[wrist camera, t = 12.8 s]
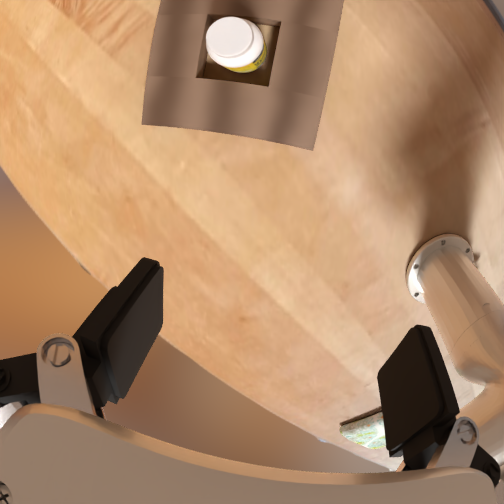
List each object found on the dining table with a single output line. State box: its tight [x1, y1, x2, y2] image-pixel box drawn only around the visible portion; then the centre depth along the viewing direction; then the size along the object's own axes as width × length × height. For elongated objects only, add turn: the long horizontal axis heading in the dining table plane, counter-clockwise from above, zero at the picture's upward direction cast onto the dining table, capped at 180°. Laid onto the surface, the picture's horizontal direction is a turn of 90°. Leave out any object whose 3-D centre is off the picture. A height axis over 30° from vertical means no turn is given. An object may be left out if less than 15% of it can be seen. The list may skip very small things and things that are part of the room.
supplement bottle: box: [206, 17, 267, 73], centre depth 23 cm, size 5×5×10 cm
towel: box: [340, 412, 386, 449], centre depth 63 cm, size 18×21×5 cm
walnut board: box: [142, 0, 344, 151], centre depth 26 cm, size 20×20×3 cm
